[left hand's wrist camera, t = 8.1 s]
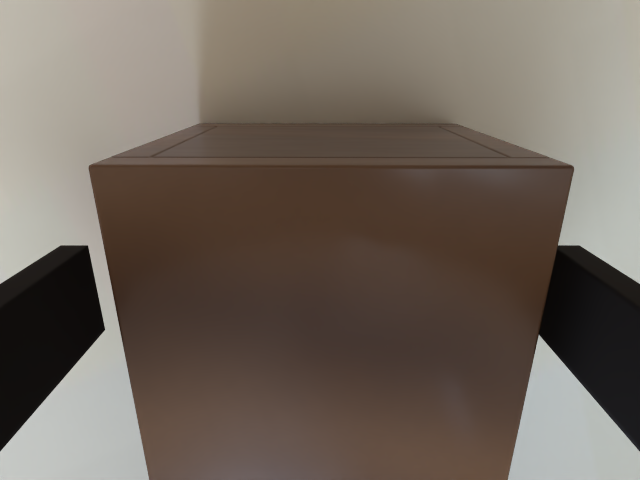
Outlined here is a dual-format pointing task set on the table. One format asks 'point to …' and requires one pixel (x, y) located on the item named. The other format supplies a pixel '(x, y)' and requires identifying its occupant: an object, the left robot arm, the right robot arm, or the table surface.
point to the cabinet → (329, 297)
